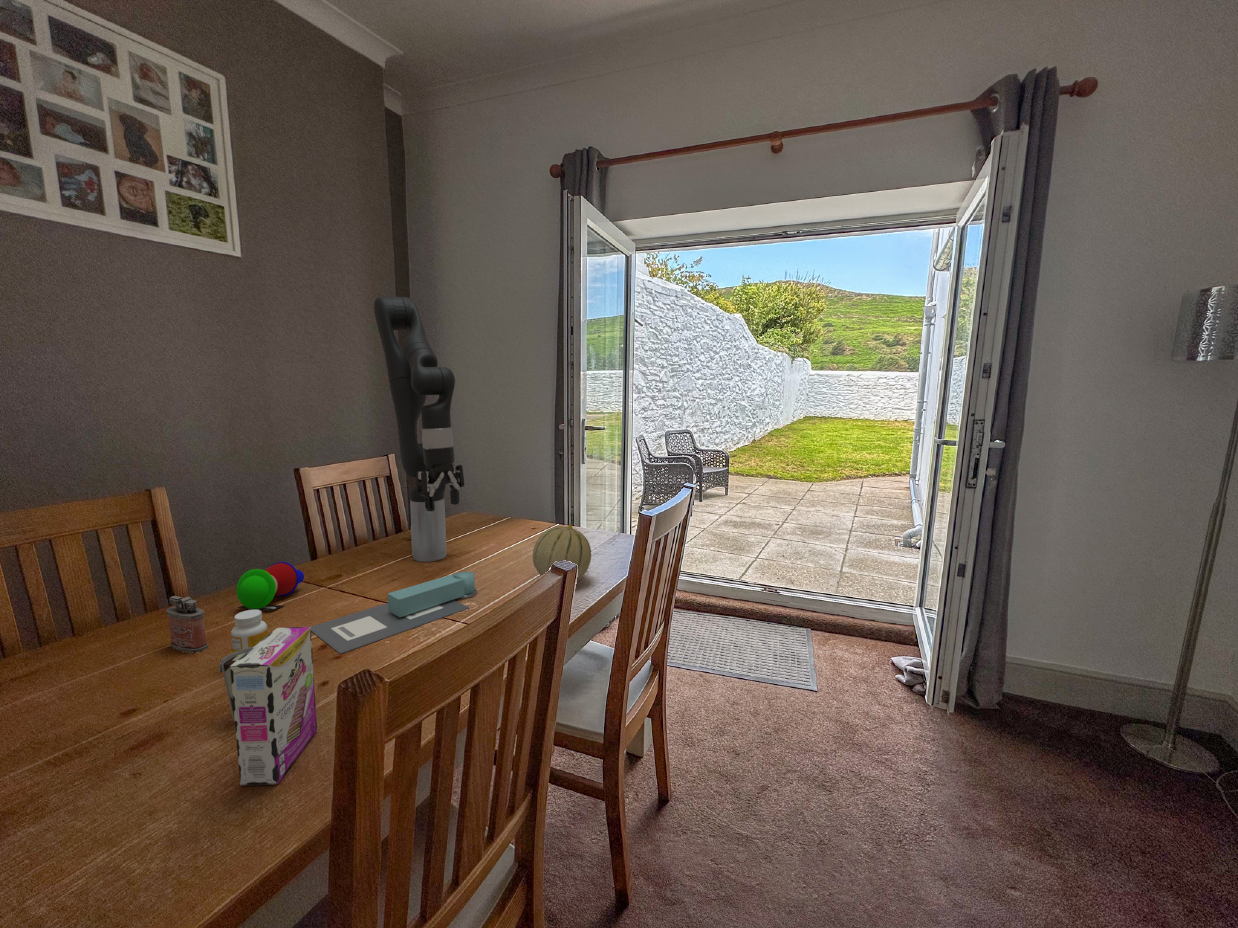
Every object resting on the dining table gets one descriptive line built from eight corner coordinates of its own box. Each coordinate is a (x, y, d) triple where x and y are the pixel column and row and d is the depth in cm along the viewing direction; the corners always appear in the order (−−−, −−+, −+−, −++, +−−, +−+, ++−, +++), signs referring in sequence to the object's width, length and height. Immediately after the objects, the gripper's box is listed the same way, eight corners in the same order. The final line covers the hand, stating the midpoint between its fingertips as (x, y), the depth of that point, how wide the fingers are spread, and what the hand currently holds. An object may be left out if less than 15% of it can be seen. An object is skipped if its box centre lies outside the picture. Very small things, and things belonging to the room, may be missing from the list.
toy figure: (274, 600, 133) (227, 615, 118) (271, 561, 133) (224, 571, 118) (310, 597, 132) (267, 612, 117) (307, 558, 132) (264, 568, 117)
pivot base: (446, 594, 131) (446, 592, 131) (467, 587, 135) (467, 585, 135) (460, 600, 127) (460, 598, 127) (482, 593, 131) (482, 591, 131)
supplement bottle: (229, 674, 95) (224, 622, 93) (240, 659, 100) (235, 609, 98) (265, 669, 96) (260, 618, 95) (274, 655, 101) (269, 606, 100)
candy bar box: (280, 785, 69) (269, 665, 67) (239, 787, 69) (225, 666, 66) (320, 729, 80) (312, 624, 78) (285, 731, 80) (275, 625, 77)
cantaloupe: (522, 588, 135) (520, 529, 133) (551, 569, 148) (550, 515, 146) (575, 597, 130) (575, 536, 127) (600, 577, 143) (600, 521, 141)
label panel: (307, 628, 112) (307, 627, 112) (431, 590, 133) (431, 589, 133) (340, 654, 102) (340, 652, 102) (469, 608, 123) (469, 607, 123)
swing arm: (388, 610, 119) (387, 593, 119) (467, 585, 134) (466, 570, 134) (399, 617, 116) (398, 599, 116) (479, 590, 131) (478, 574, 131)
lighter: (213, 647, 104) (207, 597, 103) (194, 655, 101) (188, 604, 100) (184, 640, 107) (178, 591, 105) (165, 648, 104) (159, 598, 102)
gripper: (447, 442, 148) (452, 501, 150) (405, 448, 135) (411, 512, 137) (468, 443, 144) (473, 503, 146) (427, 448, 132) (432, 514, 134)
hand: (443, 507), depth 142 cm, fingers open, 8 cm apart
